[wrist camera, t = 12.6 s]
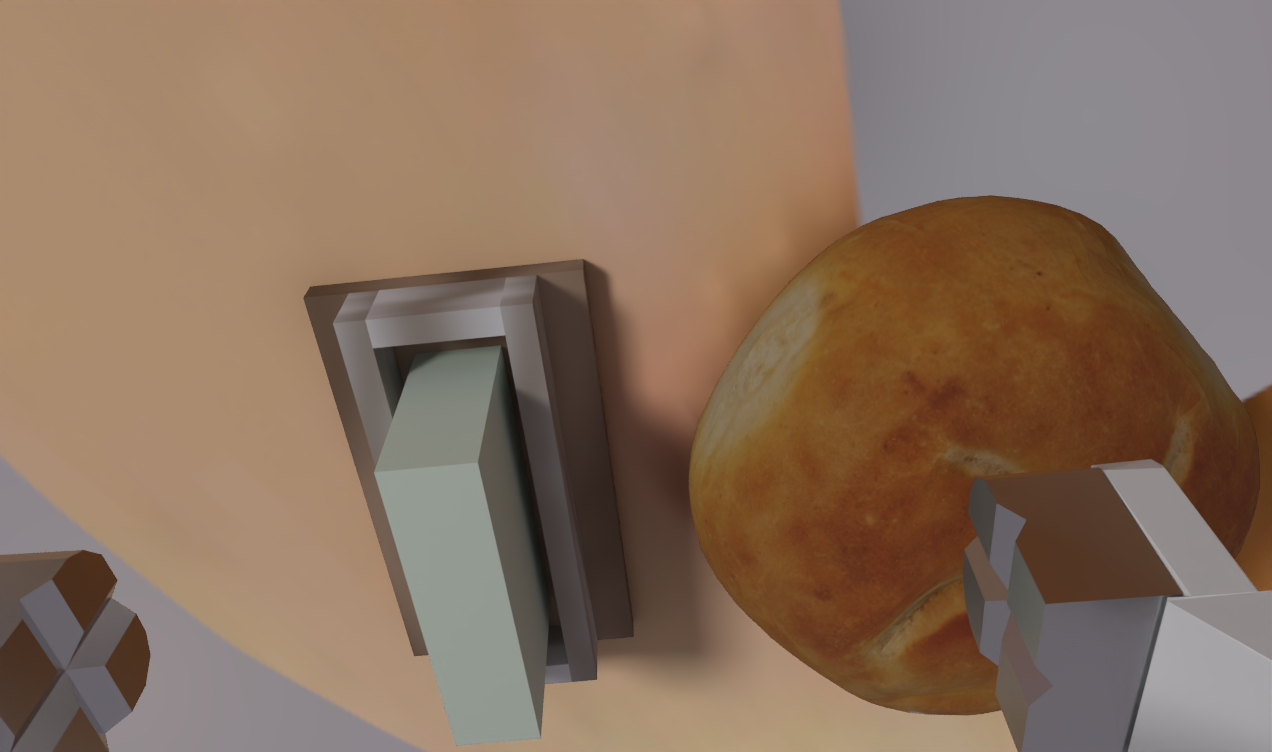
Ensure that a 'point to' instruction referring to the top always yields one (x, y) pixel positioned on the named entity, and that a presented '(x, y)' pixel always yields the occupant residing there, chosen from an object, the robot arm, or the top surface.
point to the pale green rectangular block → (469, 542)
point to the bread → (941, 430)
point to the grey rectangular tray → (544, 411)
